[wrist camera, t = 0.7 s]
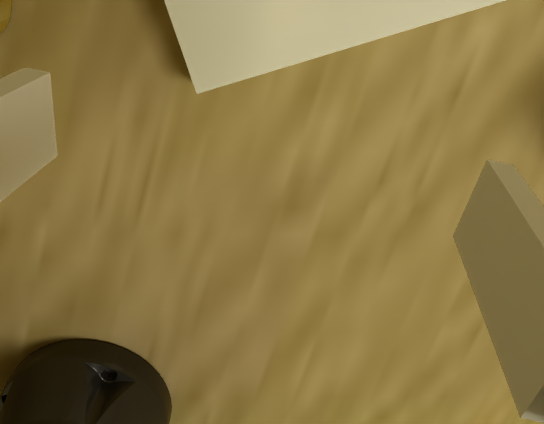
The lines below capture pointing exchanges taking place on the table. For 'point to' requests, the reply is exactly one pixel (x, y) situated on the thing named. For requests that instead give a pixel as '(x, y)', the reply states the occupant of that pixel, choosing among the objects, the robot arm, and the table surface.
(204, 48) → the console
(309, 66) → the table surface
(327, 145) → the table surface
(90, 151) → the table surface
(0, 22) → the plant pot
